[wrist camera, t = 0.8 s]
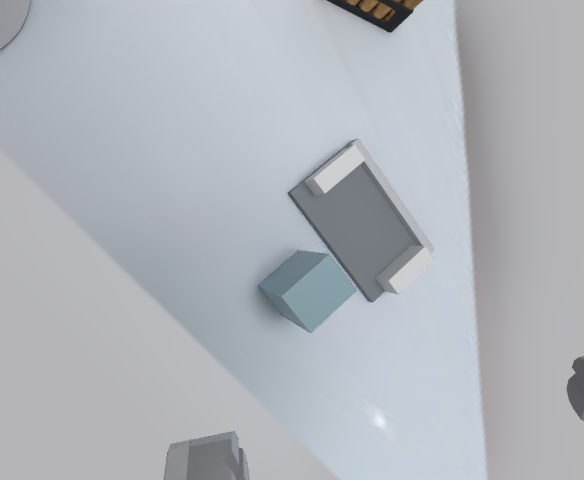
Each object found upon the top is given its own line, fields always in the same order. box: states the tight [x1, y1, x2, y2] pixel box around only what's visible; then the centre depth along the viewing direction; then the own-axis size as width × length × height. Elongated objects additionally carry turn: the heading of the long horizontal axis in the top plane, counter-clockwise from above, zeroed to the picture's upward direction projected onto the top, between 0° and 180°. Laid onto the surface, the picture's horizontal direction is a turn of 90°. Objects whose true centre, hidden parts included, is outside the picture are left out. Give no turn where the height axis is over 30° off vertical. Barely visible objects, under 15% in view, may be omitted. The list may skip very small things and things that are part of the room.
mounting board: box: [288, 139, 435, 302], centre depth 51 cm, size 16×10×4 cm, turn 39°
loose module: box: [258, 250, 357, 333], centre depth 46 cm, size 4×6×9 cm
